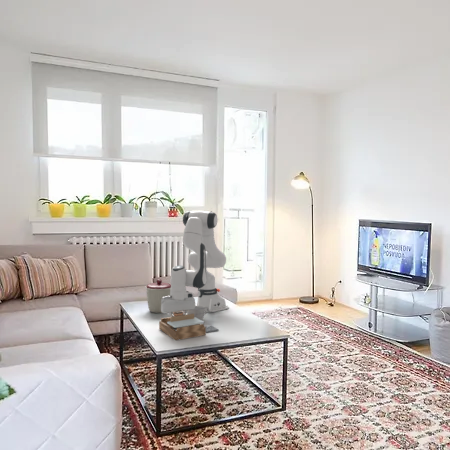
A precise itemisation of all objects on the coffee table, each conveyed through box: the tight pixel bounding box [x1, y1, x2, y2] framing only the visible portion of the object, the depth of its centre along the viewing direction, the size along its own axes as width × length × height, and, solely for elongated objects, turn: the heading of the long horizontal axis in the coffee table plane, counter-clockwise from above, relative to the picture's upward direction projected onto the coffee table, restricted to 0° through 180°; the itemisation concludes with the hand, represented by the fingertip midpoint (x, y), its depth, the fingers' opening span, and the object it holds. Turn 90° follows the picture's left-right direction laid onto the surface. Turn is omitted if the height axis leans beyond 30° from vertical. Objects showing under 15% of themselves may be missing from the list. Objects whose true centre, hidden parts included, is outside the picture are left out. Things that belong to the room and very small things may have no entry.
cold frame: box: [158, 316, 207, 341], centre depth 246 cm, size 18×22×6 cm
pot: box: [172, 311, 184, 316], centre depth 251 cm, size 6×6×6 cm
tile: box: [205, 325, 219, 334], centre depth 251 cm, size 8×8×1 cm
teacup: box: [186, 305, 209, 321], centre depth 270 cm, size 14×11×8 cm
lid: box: [167, 313, 205, 329], centre depth 242 cm, size 18×10×3 cm, turn 121°
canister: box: [144, 278, 171, 314], centre depth 289 cm, size 18×18×21 cm
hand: (178, 318), depth 251 cm, fingers closed on pot, 5 cm apart
